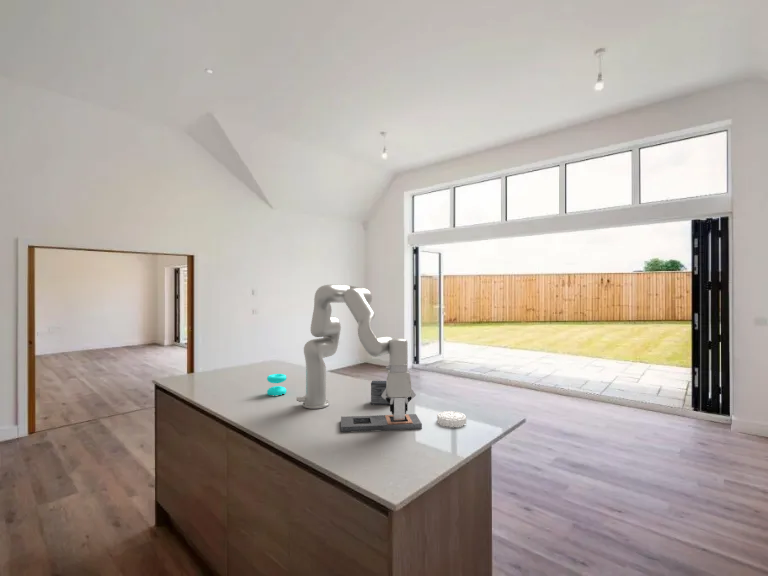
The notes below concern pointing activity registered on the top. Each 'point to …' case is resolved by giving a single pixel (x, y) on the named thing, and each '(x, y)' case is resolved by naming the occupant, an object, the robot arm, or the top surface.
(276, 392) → the donuts
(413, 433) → the top surface
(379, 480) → the top surface
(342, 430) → the rail
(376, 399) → the small box
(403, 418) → the light grey block
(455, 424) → the white bumpy disc
